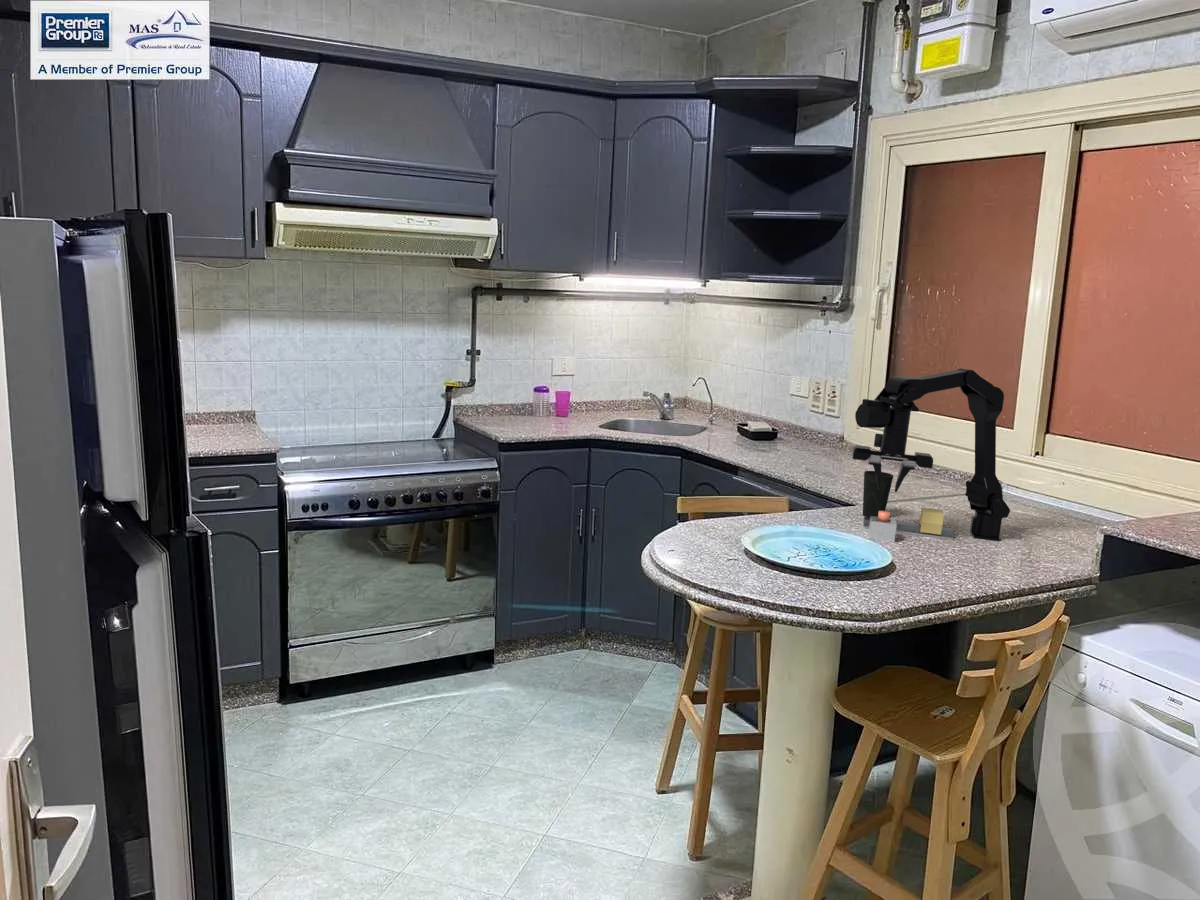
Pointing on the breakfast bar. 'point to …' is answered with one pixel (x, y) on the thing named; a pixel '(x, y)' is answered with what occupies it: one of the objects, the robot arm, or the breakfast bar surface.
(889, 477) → the cup
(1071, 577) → the breakfast bar surface
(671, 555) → the breakfast bar surface
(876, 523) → the cabinet
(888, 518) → the button
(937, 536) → the rail
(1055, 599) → the breakfast bar surface
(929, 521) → the carriage
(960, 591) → the breakfast bar surface
